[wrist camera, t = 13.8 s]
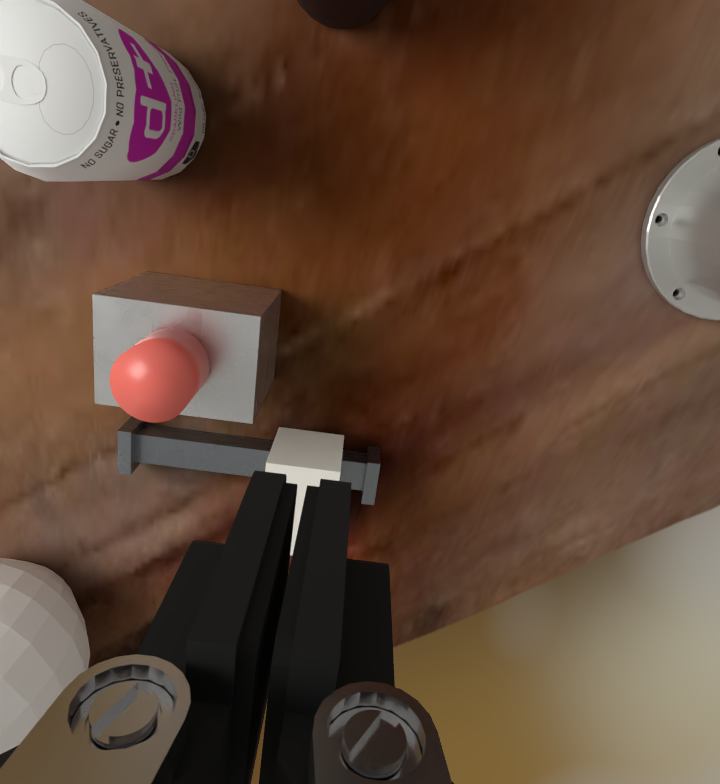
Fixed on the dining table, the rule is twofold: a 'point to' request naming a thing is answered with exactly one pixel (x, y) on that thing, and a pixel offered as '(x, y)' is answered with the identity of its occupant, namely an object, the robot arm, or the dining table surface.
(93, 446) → the dining table surface
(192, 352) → the button
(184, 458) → the rail
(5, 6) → the supplement can
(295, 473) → the carriage
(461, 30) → the dining table surface
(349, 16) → the bottle
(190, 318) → the grey box
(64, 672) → the pitcher
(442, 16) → the dining table surface
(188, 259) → the dining table surface
